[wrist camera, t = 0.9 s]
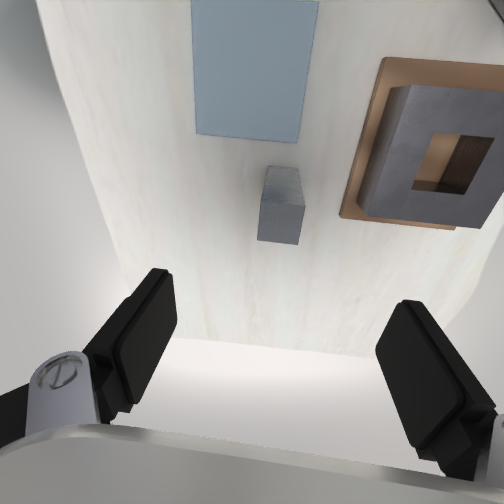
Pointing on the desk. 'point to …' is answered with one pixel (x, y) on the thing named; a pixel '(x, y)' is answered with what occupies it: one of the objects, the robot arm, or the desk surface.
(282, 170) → the key peg
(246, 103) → the mat
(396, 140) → the block
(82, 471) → the robot arm
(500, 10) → the cassette tape recorder
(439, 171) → the stand
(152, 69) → the desk surface
